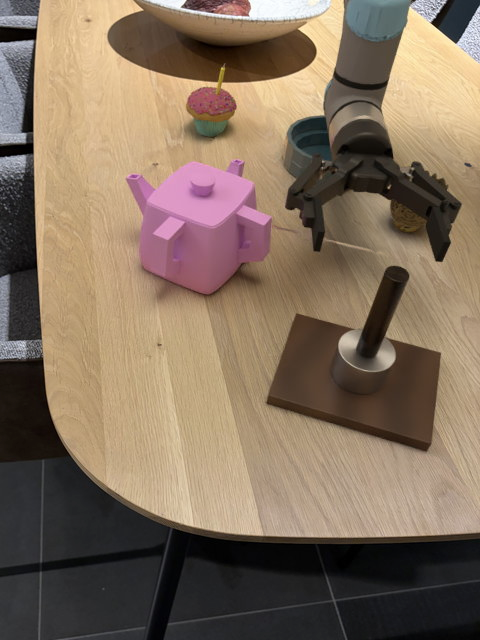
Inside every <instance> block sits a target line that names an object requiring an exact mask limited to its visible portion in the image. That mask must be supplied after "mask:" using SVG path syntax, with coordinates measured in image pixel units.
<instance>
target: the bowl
mask: <svg viewBox="0 0 480 640" xmlns="http://www.w3.org/2000/svg"><path fill="white" fill-rule="evenodd" d="M314 153H320V154H321V155H322V160H326V161H332V155H331V147H330V141H329V134H328V128H327V122H326V117H325V115H324V114H323V115H322V114H321V115H319V114H318V115H311V116H306V117H303V118H299V119H297V120H296V121H294V122H292V124H290V125H289V127H288V129H287V130H286V135H285V141H284V146H283V151H282V164H283V167H284V168H285V170H286V171H287V172H288V173H289V174H290V175H291V176H293V177H294V178H295V179H297V178H298V177H299V176H300V175H301V174H302V173H303V171H304V170H305V169H306V168H307V167H308V166H309V165H310V163H311V160H312V156H313V154H314ZM330 176H331V173H330V172H327V173H326V174H325V175H323V176H322V179H318V180H317V183H316V184H315V185H317V184H319V183H320V182H322V181H323V180H325V179H326V178H328V177H330ZM315 185H314V186H315ZM314 186H313V187H314Z"/></svg>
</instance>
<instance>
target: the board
mask: <svg viewBox="0 0 480 640" xmlns="http://www.w3.org/2000/svg"><path fill="white" fill-rule="evenodd" d="M356 329H357V328H352V327H349V326H345V325H341V324H337V323H334V322H330V321H326V320H323V319H319V318H315V317H312V316H308V315H305V314H302V313H297V312H296V313H295V316H294V318H293V322H292V325H291V327H290V329H289V333H288V336H287V339H286V341H285V345H284V348H283V351H282V354H281V357H280V359H279V362H278V365H277V368H276V371H275V374H274V377H273V379H272V383H271V385H270V387H269V391H268V394H267V399H266V404H268V405H272V406H274V407H275V406H276V407H279V408H282V409H285V410H288V411H292V412H295V413H298V414H301V415H304V416H308V417H311V418H315V419H318V420H322V421H325V422H329V423H332V424H334V425H338V426H341V427H345V428H347V429H350V430H351V429H352V430H354V431H357V432H361V433H365V434H368V435H371V436H374V437H377V438H381V439H385V440H387V441H391V442H395V443H397V444H398V443H399V444H402V445H405V446H408V447H411V448H415V449H417V450H421V451H424V452H428V451H429V448H430V447H431V446H432V443H433V433H434V425H435V424H434V422H435V416H436V415H435V414H436V404H437V395H438V387H439V377H440V368H441V358H442V352H440V351H436V350H433V349H429V348H426V347H421V346H418V345H415V344H411V343H407V342H405V341H399V340H397V339H394V338H393V339H391V338H389V337H386V336H385V338H387V339H388V340H389V341H390V342H391V344H392V345H393V347H394V349H395V352H396V359H395V362H394V364H393V366H392V368H391V370H390V373H389V375H388V377H387V379H386V381H385V383H384V385H383V387H382V388H381V389H380V390H378V391H376V392H374V393H371V394H356V393H353V392H350V391H347V390H345V389H344V388H342V387H341V386H340V385H338V384H337V383H336V381H335V380H334V379H333V377H332V374H331V370H330V367H331V363H332V360H333V357H334V354H335V351H336V348H337V345H338V342H339V340H340V338H341V337H342V336H343V335H344V334H345V333H347V332H349V331H351V330H356Z"/></svg>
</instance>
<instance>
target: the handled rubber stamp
mask: <svg viewBox="0 0 480 640" xmlns="http://www.w3.org/2000/svg"><path fill="white" fill-rule="evenodd" d="M410 276H411V275H410V273H409V270H407V269H406V268H404V267H402V266H400V265H389V266H387V267H386V268H385V269H384V272H383V275H382V277H381V279H380V283H379V285H378V287H377V291H376V294H375V296H374V298H373V300H372V301H373V302H372V304H371V306H370V308H369V312H368V315H367V317H366V320H365V322H364V325H363V328H355V329H356V330H351V331H349V332H347V333H345V334H344V335H343V336H342V337H341V338H340V340H339V342H338V345H337V348H336V351H335V354H334V357H333V360H332V363H331V367H330V370H331V374H332V377H333V379H334V380H335V381H336V383H337V384H338V385H340V386H341V387H342V388H344V389H345V390H347V391H350V392H353V393H356V394H371V393H374V392H376V391H378V390H380V389H381V388H382V387H383V385H384V383H385V381H386V379H387V377H388V375H389V373H390V370H391V368H392V366H393V364H394V362H395V359H396V352H395V349H394V347H393V345H392V344H391V342H390V341H389V340H388V339H387V338H388V337H386V334H387V332H388V330H389V329H390V325H391V323H392V320H393V318H394V316H395V313H396V310H397V308H398V306H399V304H400V301H401V299H402V297H403V294H404V292H405V289H406V287H407V285H408V282H409V281H410ZM385 337H386V338H385Z"/></svg>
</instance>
